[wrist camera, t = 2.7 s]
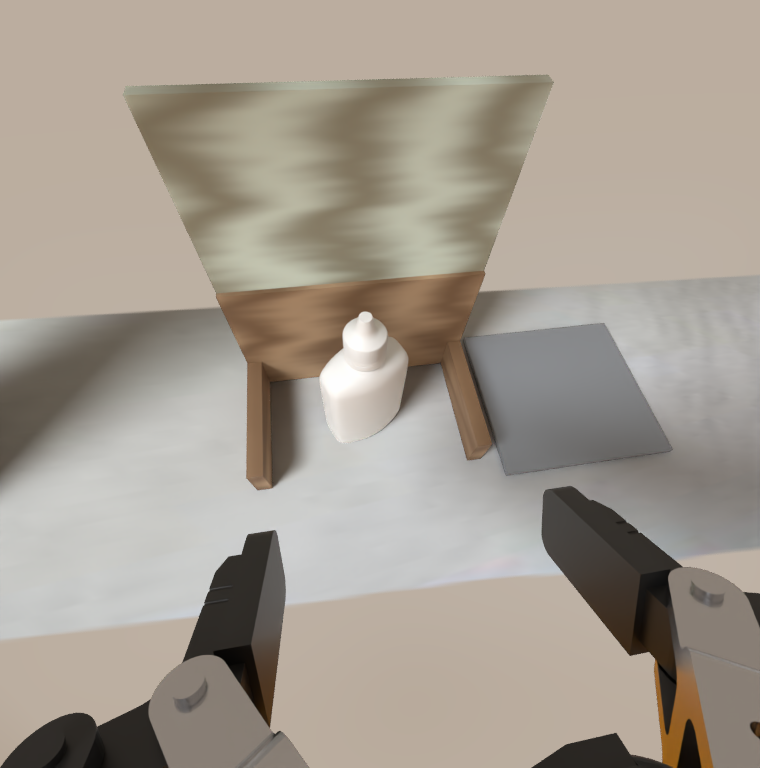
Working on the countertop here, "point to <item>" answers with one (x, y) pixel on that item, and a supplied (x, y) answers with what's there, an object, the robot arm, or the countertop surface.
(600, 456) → the slate mat
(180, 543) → the countertop surface
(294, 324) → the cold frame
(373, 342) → the eye dropper bottle
